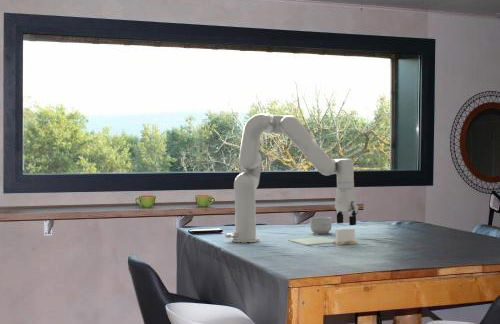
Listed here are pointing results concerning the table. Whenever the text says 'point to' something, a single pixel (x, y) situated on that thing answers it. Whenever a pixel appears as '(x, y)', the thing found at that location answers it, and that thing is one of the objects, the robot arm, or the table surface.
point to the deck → (344, 235)
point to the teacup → (320, 225)
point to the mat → (312, 241)
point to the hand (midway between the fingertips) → (346, 224)
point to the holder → (345, 242)
